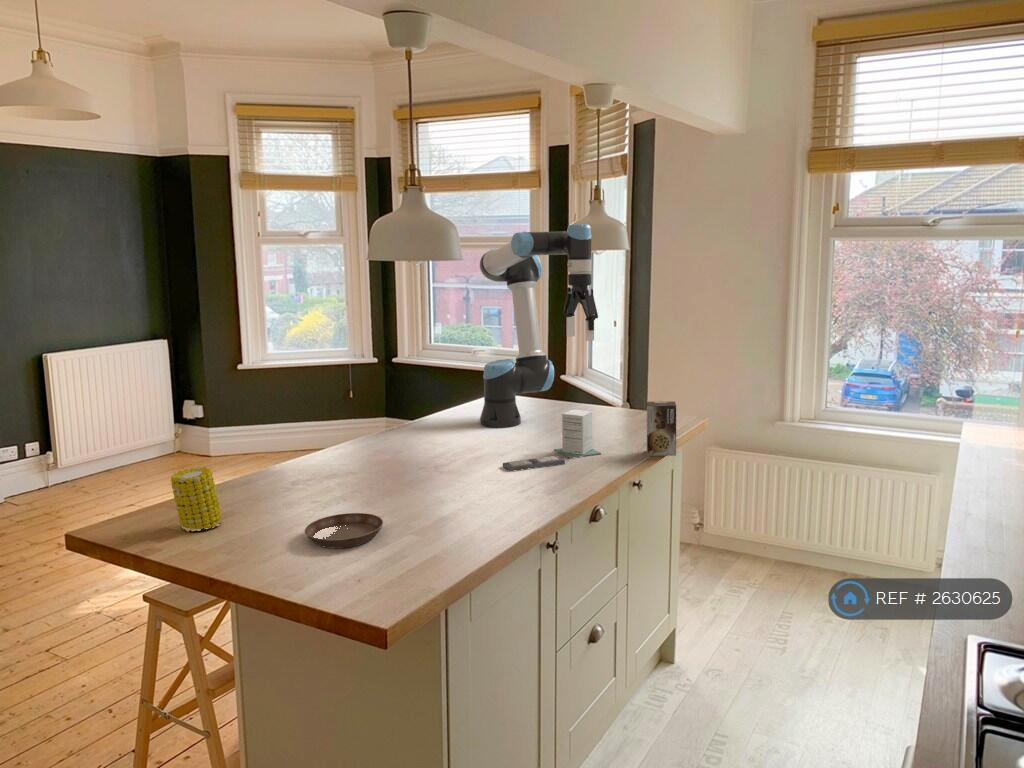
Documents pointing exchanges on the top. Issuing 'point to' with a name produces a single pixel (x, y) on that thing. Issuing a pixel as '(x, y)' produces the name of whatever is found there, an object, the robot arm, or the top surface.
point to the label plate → (533, 463)
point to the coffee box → (661, 428)
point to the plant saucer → (345, 529)
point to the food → (196, 498)
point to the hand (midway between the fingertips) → (580, 338)
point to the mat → (570, 455)
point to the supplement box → (577, 431)
